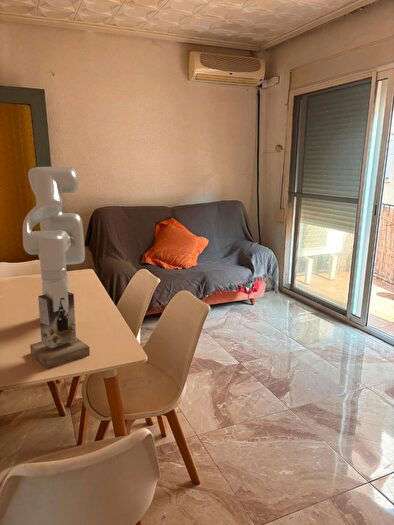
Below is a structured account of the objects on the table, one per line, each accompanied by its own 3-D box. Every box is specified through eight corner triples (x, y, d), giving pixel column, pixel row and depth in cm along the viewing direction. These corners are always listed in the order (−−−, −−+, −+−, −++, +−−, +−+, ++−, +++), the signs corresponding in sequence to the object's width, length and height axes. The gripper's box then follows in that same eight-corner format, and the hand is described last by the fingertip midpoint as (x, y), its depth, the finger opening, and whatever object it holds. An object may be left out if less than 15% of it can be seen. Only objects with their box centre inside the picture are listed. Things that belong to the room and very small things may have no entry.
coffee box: (51, 349, 124) (47, 300, 120) (41, 343, 128) (36, 296, 124) (77, 339, 131) (74, 293, 127) (66, 334, 135) (62, 289, 131)
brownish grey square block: (30, 353, 131) (30, 344, 130) (71, 341, 140) (70, 333, 139) (47, 368, 121) (46, 359, 120) (89, 355, 130) (89, 346, 129)
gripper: (31, 270, 128) (36, 322, 132) (53, 282, 115) (57, 338, 120) (54, 266, 133) (58, 316, 137) (77, 277, 120) (81, 332, 124)
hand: (58, 326), depth 128 cm, fingers closed on coffee box, 6 cm apart
